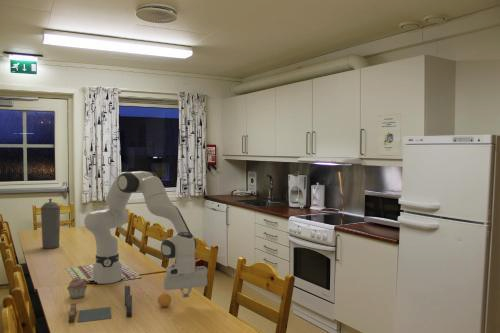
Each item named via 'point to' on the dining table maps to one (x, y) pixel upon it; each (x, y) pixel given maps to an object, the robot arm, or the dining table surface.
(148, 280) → the dining table surface
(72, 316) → the stopper wall
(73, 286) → the cupcake
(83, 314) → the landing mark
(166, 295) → the ball
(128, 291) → the post
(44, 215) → the canister
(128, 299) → the post
